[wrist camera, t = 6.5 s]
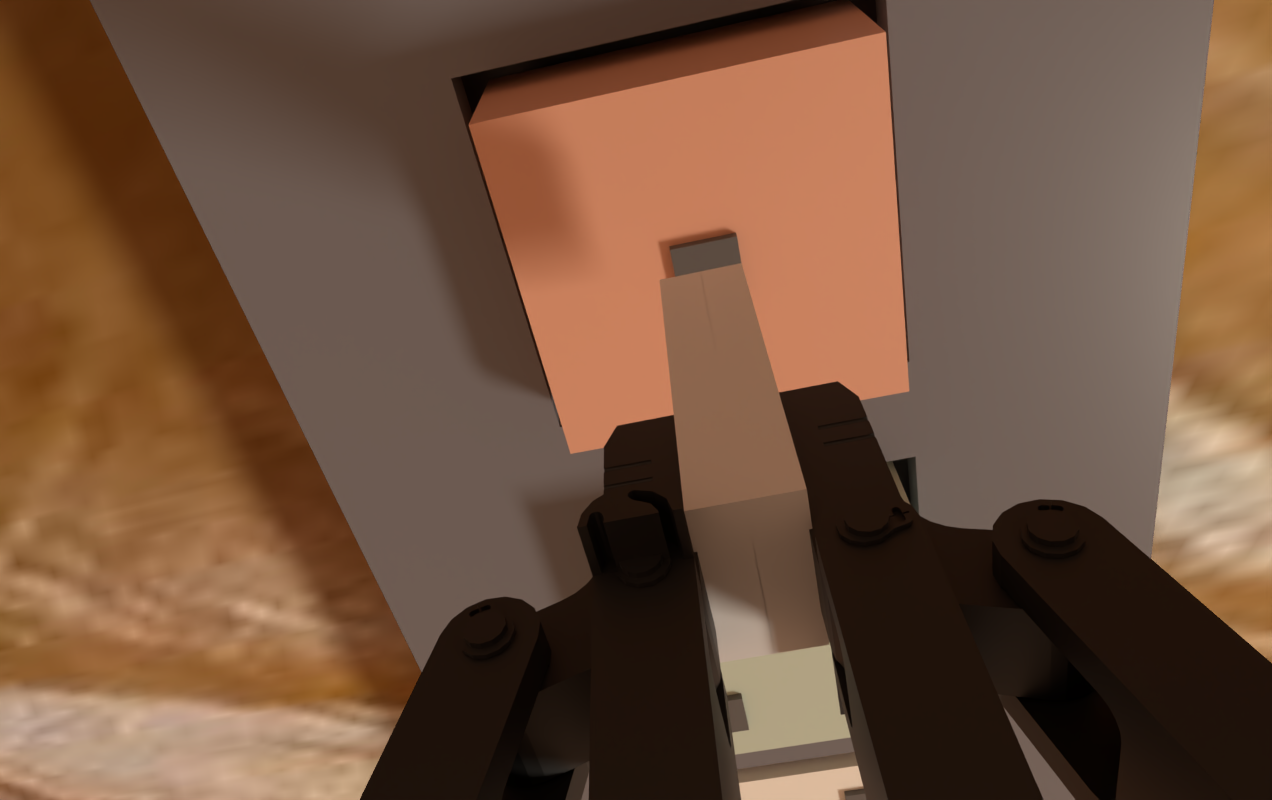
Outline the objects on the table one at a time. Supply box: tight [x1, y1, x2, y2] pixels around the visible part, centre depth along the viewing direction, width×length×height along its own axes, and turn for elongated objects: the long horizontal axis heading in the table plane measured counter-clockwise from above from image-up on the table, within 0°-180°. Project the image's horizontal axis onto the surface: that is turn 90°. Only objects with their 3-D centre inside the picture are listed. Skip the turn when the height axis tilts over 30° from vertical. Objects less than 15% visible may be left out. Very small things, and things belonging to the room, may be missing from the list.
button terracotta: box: [469, 0, 909, 454], centre depth 21 cm, size 8×8×4 cm
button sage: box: [720, 461, 910, 755], centre depth 27 cm, size 8×8×4 cm
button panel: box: [90, 0, 1214, 800], centre depth 30 cm, size 22×40×5 cm, turn 12°
